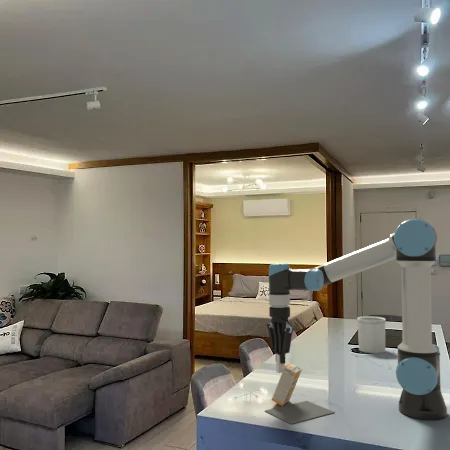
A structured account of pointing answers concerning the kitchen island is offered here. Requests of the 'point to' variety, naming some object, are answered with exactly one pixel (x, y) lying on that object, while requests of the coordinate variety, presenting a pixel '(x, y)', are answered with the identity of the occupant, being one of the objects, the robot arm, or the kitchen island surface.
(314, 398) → the kitchen island surface
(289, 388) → the supplement box
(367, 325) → the utensil holder
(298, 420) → the mat
